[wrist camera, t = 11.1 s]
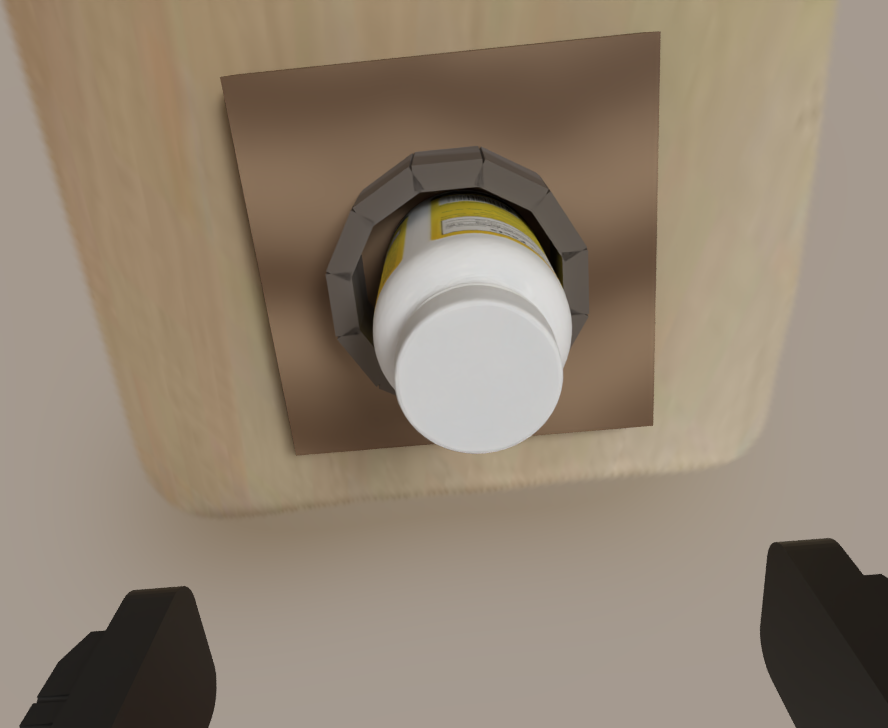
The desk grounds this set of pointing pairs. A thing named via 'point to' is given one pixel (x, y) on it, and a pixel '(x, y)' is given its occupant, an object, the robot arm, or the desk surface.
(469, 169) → the cup bracket
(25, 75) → the desk surface
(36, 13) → the desk surface
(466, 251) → the supplement bottle
